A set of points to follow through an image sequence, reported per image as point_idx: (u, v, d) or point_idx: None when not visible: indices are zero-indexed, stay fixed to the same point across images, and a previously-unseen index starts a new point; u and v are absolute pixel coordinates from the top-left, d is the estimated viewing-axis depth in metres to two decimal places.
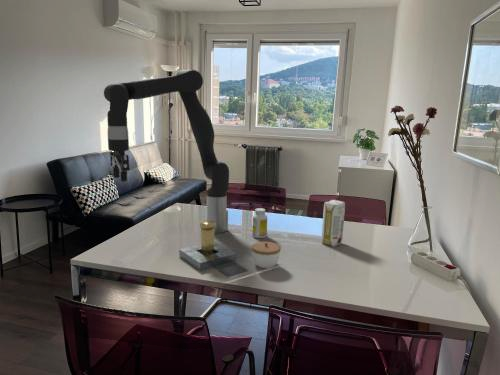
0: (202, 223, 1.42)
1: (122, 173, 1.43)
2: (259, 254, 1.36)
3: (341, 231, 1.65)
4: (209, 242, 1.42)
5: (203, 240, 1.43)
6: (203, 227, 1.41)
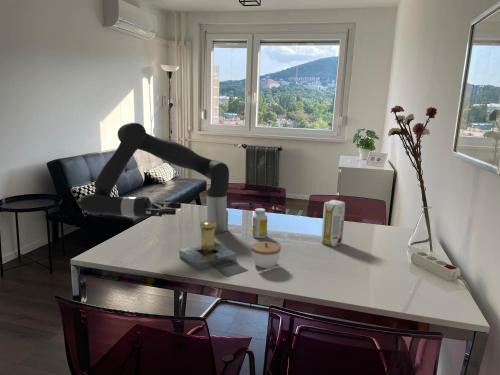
0: (202, 223, 1.42)
1: (166, 213, 1.38)
2: (259, 254, 1.36)
3: (341, 231, 1.65)
4: (209, 242, 1.42)
5: (203, 240, 1.43)
6: (203, 227, 1.41)
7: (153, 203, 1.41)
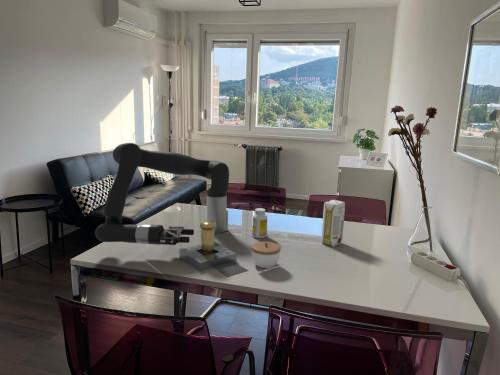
0: (202, 223, 1.42)
1: (180, 241, 1.40)
2: (259, 254, 1.36)
3: (341, 231, 1.65)
4: (209, 242, 1.42)
5: (203, 240, 1.43)
6: (203, 227, 1.41)
7: (167, 231, 1.43)
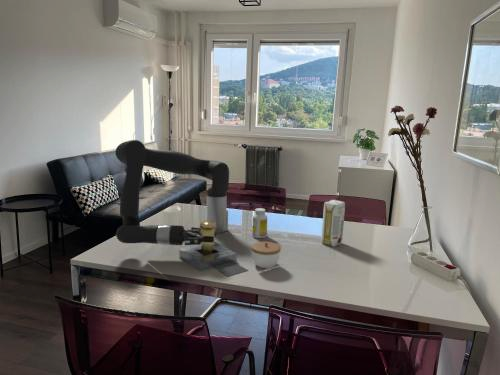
0: (202, 223, 1.42)
1: (204, 241, 1.41)
2: (259, 254, 1.36)
3: (341, 231, 1.65)
4: (209, 242, 1.42)
5: None
6: (203, 227, 1.41)
7: (188, 232, 1.43)
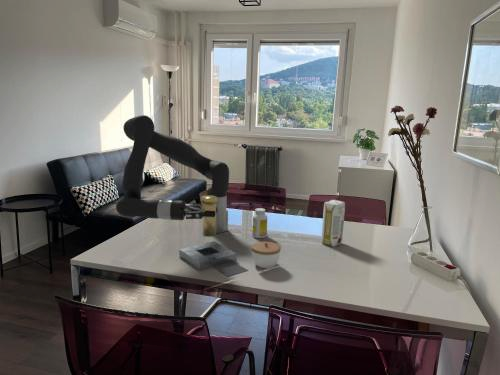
0: (204, 198, 1.39)
1: (206, 216, 1.38)
2: (259, 254, 1.36)
3: (341, 231, 1.65)
4: (211, 217, 1.39)
5: None
6: (205, 201, 1.38)
7: (189, 206, 1.40)
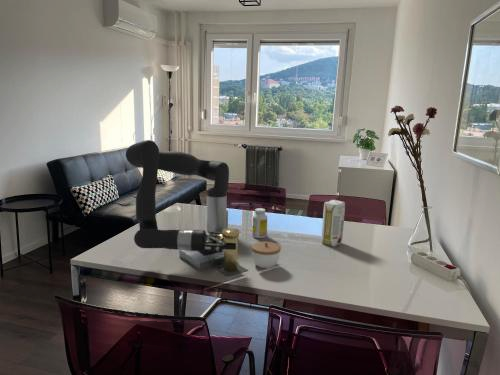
0: (225, 231, 1.33)
1: (226, 248, 1.31)
2: (259, 254, 1.36)
3: (341, 231, 1.65)
4: (233, 251, 1.34)
5: (226, 249, 1.34)
6: (226, 235, 1.32)
7: (211, 237, 1.34)
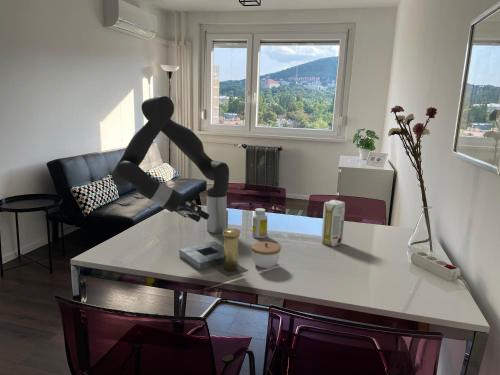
0: (226, 232, 1.33)
1: (200, 214, 1.35)
2: (259, 254, 1.36)
3: (341, 231, 1.65)
4: (233, 251, 1.34)
5: (226, 249, 1.34)
6: (227, 236, 1.32)
7: (186, 201, 1.38)
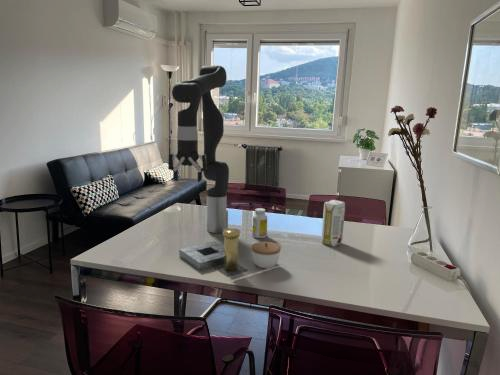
0: (226, 232, 1.33)
1: (200, 173, 1.42)
2: (259, 254, 1.36)
3: (341, 231, 1.65)
4: (233, 251, 1.34)
5: (226, 249, 1.34)
6: (227, 236, 1.32)
7: None
